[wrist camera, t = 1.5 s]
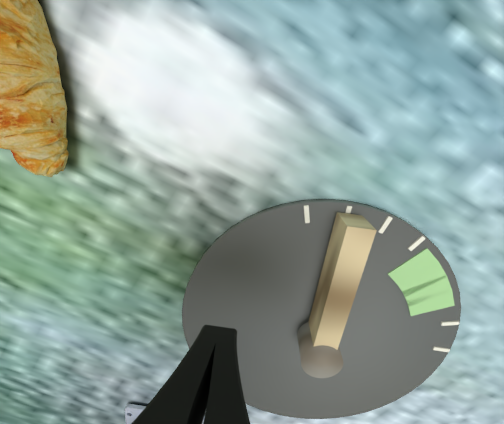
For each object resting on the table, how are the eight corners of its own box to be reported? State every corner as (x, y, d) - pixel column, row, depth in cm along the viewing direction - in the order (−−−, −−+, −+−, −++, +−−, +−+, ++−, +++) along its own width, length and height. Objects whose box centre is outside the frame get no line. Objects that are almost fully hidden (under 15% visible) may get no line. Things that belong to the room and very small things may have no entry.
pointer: (329, 350, 20) (337, 380, 17) (294, 345, 20) (297, 374, 17) (372, 216, 16) (389, 233, 13) (327, 210, 16) (337, 226, 13)
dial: (400, 423, 24) (404, 434, 23) (182, 391, 24) (179, 401, 23) (505, 221, 16) (518, 227, 16) (189, 179, 17) (185, 182, 16)
